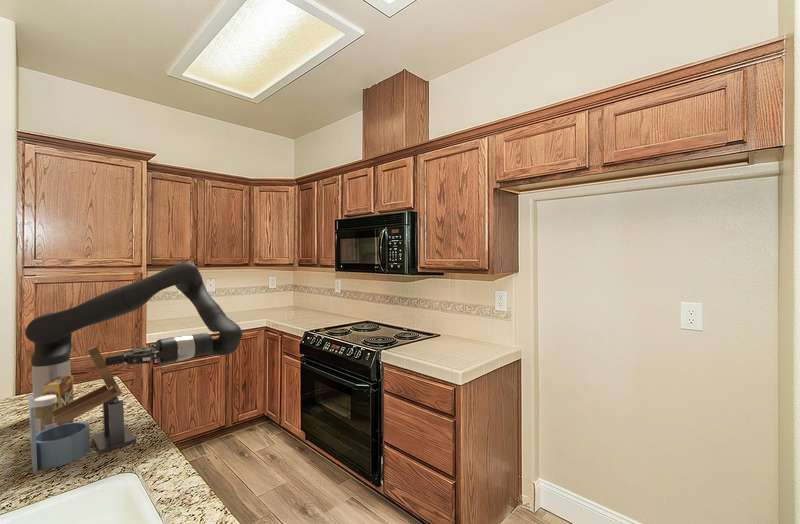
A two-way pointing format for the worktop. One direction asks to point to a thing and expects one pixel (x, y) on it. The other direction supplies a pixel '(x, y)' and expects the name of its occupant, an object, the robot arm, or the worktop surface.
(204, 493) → the worktop surface
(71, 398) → the candy box
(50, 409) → the sprinkles bottle
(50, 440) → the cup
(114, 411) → the lever stand
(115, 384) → the lever
